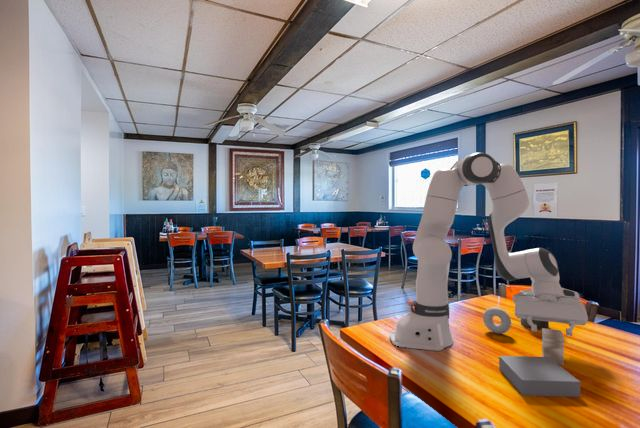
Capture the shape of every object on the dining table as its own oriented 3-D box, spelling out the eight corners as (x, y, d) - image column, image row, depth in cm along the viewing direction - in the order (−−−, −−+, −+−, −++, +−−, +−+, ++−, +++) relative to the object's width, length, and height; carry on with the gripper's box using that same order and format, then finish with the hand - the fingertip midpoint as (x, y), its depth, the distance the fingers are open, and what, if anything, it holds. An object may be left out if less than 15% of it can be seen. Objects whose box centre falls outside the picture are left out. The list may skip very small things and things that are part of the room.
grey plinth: (522, 395, 86) (522, 380, 86) (499, 368, 100) (499, 355, 100) (580, 397, 85) (580, 381, 85) (548, 370, 99) (548, 356, 98)
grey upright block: (544, 361, 104) (543, 333, 104) (542, 355, 108) (542, 328, 108) (563, 364, 102) (563, 335, 101) (561, 358, 106) (560, 330, 106)
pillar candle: (553, 330, 129) (553, 291, 129) (526, 329, 131) (526, 291, 130) (541, 321, 139) (540, 286, 139) (516, 321, 140) (515, 285, 140)
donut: (512, 335, 125) (512, 308, 125) (510, 337, 123) (509, 311, 123) (484, 328, 132) (484, 304, 132) (481, 331, 130) (481, 305, 130)
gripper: (512, 287, 119) (514, 323, 110) (584, 293, 109) (592, 333, 101) (512, 297, 123) (514, 332, 114) (581, 303, 113) (589, 342, 105)
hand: (551, 332), depth 107 cm, fingers open, 8 cm apart
